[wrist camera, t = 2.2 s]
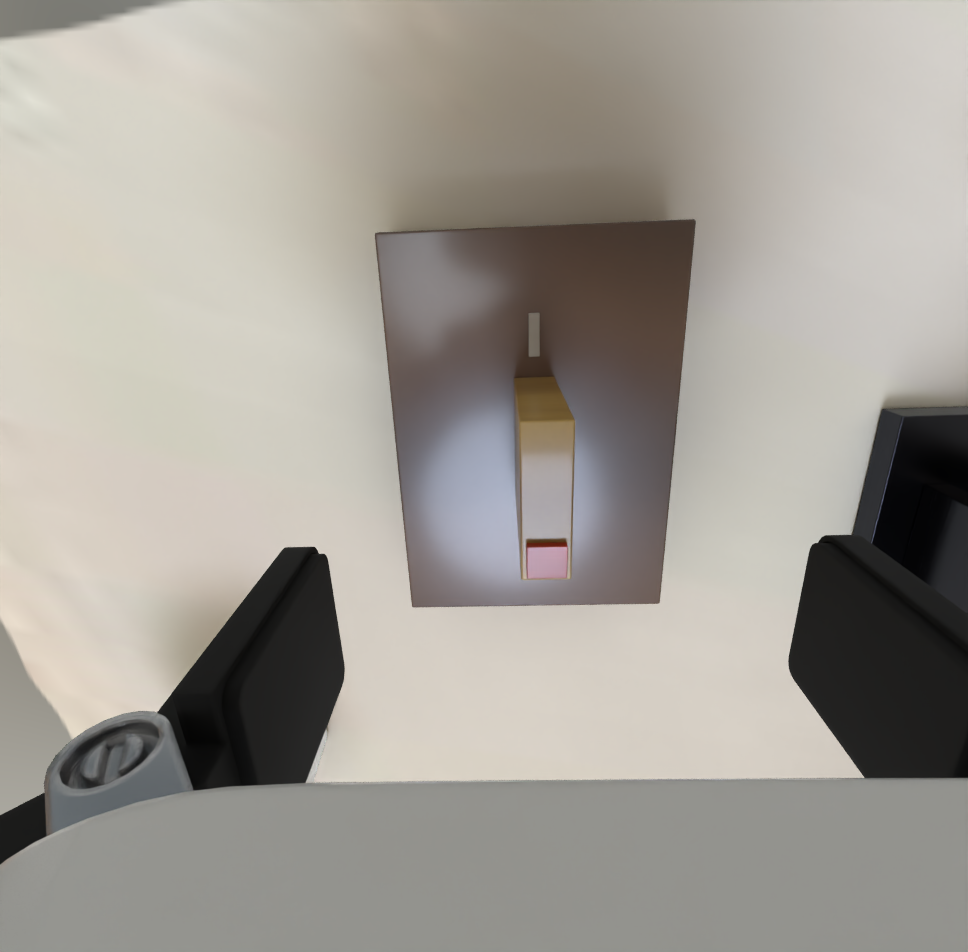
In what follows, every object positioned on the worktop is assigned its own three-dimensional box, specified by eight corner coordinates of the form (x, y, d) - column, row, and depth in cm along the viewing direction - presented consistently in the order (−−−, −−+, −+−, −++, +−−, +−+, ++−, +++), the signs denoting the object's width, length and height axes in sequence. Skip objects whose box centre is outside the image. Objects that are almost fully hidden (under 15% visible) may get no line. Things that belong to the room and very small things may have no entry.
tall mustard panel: (513, 377, 19) (519, 423, 13) (554, 376, 19) (577, 422, 13) (515, 500, 20) (521, 585, 15) (553, 499, 20) (572, 584, 15)
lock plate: (391, 237, 20) (373, 232, 17) (668, 225, 20) (698, 218, 17) (421, 569, 25) (411, 610, 22) (641, 565, 25) (660, 606, 22)
